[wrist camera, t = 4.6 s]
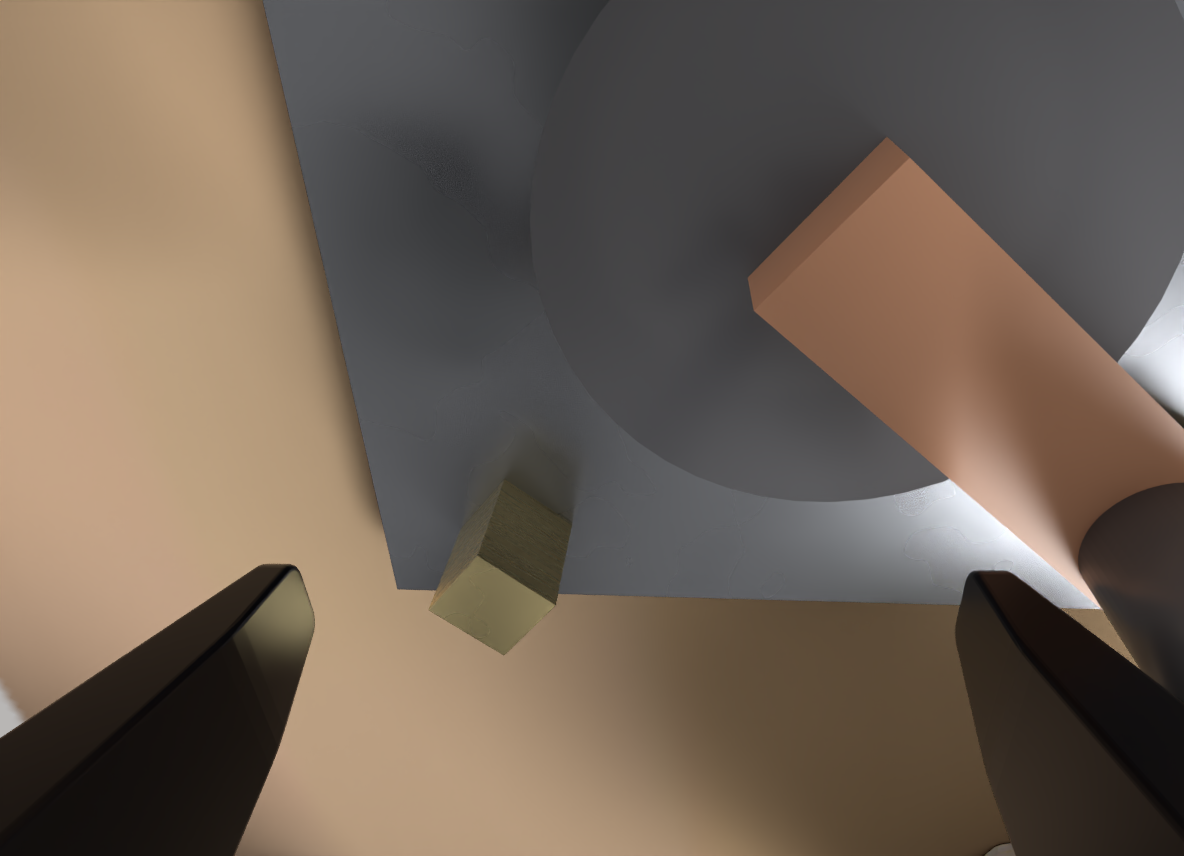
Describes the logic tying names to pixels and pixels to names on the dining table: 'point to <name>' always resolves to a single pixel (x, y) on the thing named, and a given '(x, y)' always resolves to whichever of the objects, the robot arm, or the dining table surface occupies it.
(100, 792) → the robot arm
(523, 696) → the dining table surface
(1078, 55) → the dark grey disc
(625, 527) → the hub plate
